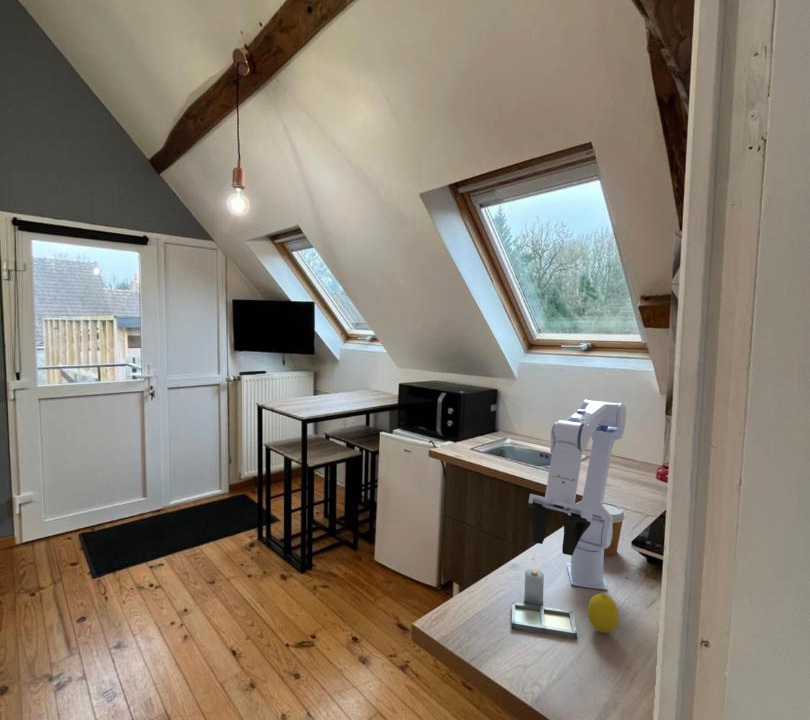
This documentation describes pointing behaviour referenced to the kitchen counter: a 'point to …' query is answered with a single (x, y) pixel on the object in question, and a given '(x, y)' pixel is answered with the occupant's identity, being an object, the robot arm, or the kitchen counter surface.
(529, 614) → the checker tray
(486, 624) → the kitchen counter surface
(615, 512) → the disposable coffee cup
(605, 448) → the robot arm
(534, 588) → the cell
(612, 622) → the lemon
